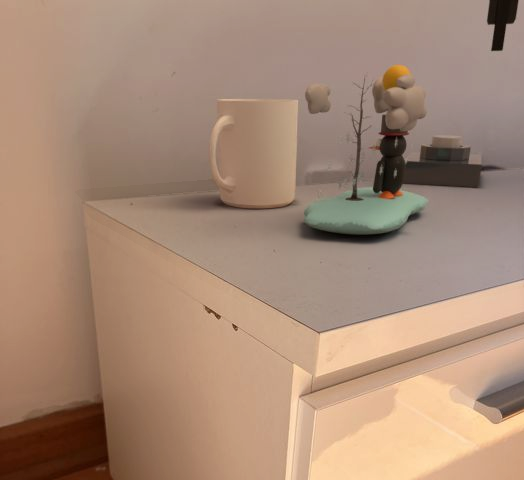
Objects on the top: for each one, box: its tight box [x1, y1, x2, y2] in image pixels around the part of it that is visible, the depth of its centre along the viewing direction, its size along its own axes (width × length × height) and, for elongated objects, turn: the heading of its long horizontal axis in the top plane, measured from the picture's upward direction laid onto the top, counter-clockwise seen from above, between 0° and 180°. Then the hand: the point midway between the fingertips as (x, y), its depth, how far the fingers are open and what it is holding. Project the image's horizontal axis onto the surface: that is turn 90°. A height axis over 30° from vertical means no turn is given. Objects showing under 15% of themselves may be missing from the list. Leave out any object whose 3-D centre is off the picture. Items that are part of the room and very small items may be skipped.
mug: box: [208, 98, 299, 210], centre depth 68 cm, size 10×12×12 cm
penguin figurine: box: [303, 64, 429, 236], centre depth 58 cm, size 20×11×15 cm, turn 149°
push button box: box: [403, 142, 483, 188], centre depth 89 cm, size 11×13×5 cm
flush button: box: [430, 134, 463, 147], centre depth 88 cm, size 4×4×2 cm
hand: (496, 50), depth 83 cm, fingers closed
